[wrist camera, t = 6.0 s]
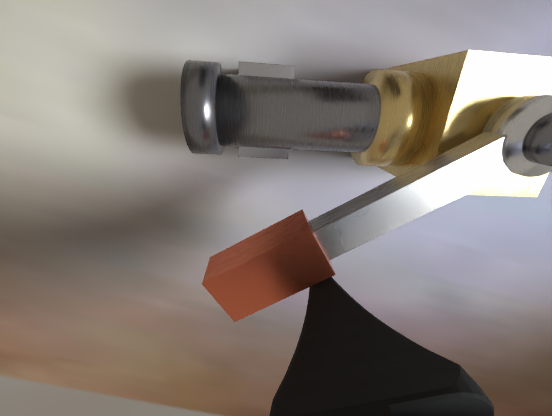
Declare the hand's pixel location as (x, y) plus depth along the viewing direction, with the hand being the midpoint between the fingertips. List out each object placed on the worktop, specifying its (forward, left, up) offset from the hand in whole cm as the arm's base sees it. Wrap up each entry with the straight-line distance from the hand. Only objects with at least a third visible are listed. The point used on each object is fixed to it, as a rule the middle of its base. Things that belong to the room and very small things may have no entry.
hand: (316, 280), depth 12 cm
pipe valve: (-4, -7, -6) cm, 10 cm away
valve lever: (-2, -4, 0) cm, 4 cm away
